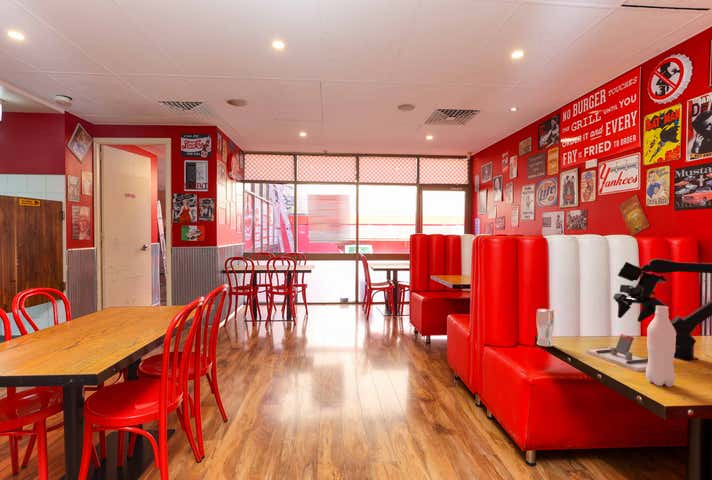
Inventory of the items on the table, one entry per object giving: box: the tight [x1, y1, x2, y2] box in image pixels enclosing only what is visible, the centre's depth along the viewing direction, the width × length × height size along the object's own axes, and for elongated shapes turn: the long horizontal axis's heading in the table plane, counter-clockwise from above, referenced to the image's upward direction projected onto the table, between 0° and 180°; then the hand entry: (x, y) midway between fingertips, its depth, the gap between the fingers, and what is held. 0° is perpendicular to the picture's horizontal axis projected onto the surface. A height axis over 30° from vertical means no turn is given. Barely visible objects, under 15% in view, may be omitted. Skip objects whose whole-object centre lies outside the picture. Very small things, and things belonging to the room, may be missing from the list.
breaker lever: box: [615, 333, 634, 355], centre depth 137 cm, size 2×4×7 cm, turn 15°
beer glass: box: [535, 308, 555, 348], centre depth 155 cm, size 7×7×15 cm
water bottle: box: [645, 305, 676, 388], centre depth 115 cm, size 7×7×25 cm
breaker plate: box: [586, 347, 648, 372], centre depth 137 cm, size 12×20×4 cm, turn 15°
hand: (628, 319), depth 145 cm, fingers open, 9 cm apart
